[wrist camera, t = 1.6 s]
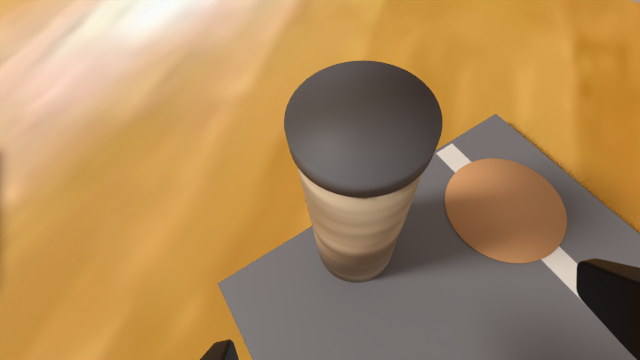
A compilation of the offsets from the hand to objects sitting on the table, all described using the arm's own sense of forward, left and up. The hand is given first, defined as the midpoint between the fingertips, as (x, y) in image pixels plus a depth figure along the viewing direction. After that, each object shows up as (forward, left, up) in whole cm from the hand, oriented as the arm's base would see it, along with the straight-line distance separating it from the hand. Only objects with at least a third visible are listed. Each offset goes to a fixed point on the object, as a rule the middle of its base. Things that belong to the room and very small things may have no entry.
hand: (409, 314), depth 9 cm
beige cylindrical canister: (+5, -2, -11) cm, 12 cm away
